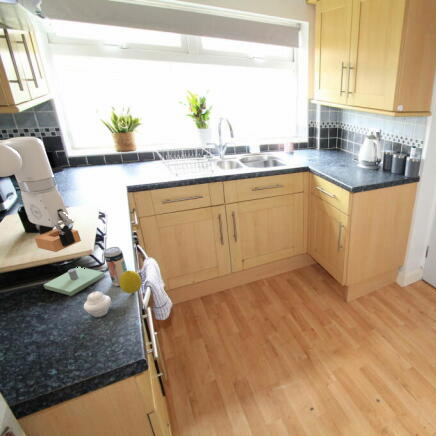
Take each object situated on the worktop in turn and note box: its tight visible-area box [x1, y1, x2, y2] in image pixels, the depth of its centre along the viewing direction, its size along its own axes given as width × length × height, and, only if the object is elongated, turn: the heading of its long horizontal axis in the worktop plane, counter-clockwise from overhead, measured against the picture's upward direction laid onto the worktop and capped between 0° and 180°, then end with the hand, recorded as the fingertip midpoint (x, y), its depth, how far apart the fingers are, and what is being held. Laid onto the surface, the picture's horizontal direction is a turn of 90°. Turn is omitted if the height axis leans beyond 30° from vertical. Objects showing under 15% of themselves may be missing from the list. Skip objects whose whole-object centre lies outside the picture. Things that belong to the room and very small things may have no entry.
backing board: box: [43, 266, 106, 297], centre depth 100 cm, size 11×11×4 cm
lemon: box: [119, 270, 142, 295], centre depth 95 cm, size 6×6×8 cm
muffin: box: [83, 291, 112, 318], centre depth 87 cm, size 6×6×7 cm
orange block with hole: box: [33, 226, 82, 253], centre depth 92 cm, size 7×7×4 cm
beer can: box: [103, 246, 128, 287], centre depth 99 cm, size 5×5×12 cm
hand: (59, 241), depth 93 cm, fingers closed on orange block with hole, 7 cm apart
